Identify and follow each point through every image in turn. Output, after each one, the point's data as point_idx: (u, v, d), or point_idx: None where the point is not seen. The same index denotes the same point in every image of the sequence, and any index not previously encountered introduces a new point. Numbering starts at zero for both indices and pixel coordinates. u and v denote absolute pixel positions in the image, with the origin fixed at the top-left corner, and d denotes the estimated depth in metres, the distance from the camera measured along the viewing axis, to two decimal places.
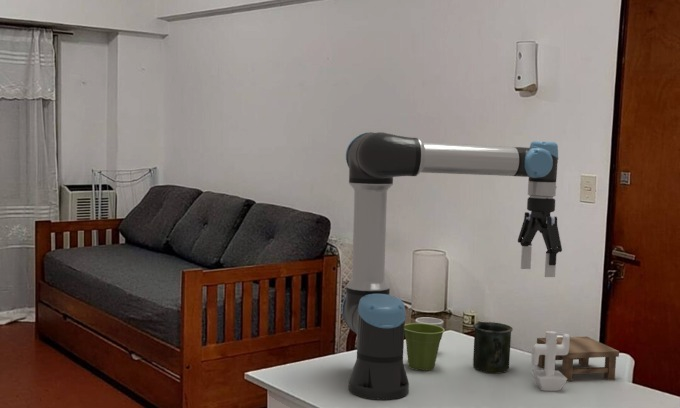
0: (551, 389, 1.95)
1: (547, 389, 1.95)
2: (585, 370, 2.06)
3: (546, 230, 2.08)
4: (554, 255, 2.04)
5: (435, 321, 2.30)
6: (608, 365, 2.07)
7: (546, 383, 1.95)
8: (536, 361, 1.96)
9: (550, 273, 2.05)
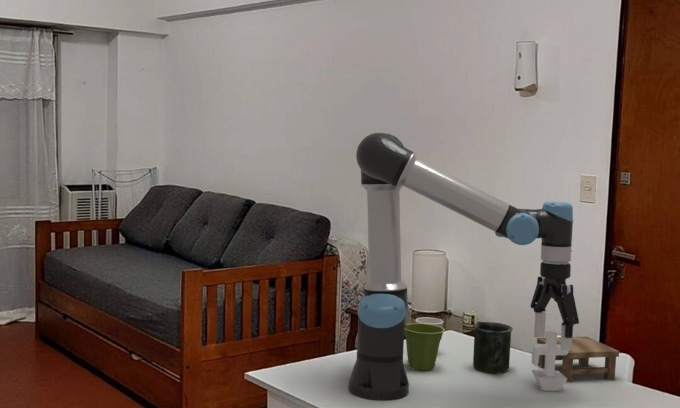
0: (551, 389, 1.95)
1: (547, 389, 1.95)
2: (585, 370, 2.06)
3: (561, 299, 1.92)
4: (570, 327, 1.88)
5: (435, 321, 2.30)
6: (608, 365, 2.07)
7: (546, 383, 1.95)
8: (536, 361, 1.96)
9: (566, 346, 1.90)
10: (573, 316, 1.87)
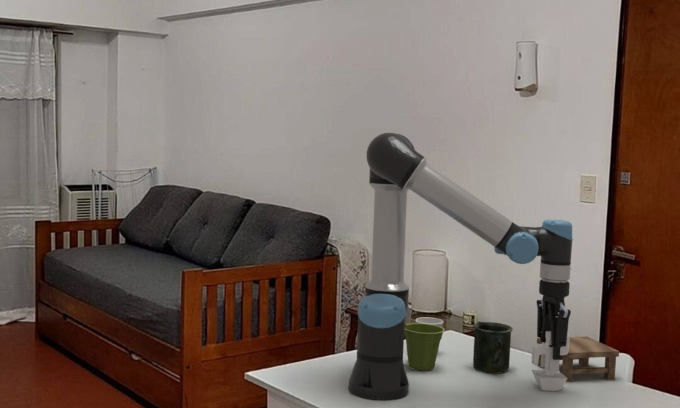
0: (551, 389, 1.95)
1: (547, 389, 1.95)
2: (585, 370, 2.06)
3: (556, 320, 1.94)
4: (558, 349, 1.94)
5: (435, 321, 2.30)
6: (608, 365, 2.07)
7: (546, 383, 1.95)
8: (536, 361, 1.96)
9: (553, 368, 1.95)
10: (562, 340, 1.92)
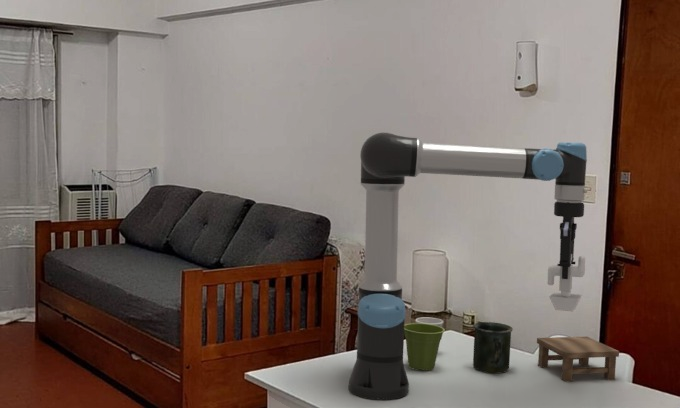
0: (564, 309, 1.99)
1: (560, 309, 1.99)
2: (585, 370, 2.06)
3: None
4: (565, 268, 1.97)
5: (435, 321, 2.30)
6: (608, 365, 2.07)
7: (557, 302, 1.99)
8: (550, 281, 2.01)
9: (564, 287, 1.99)
10: (564, 258, 1.96)
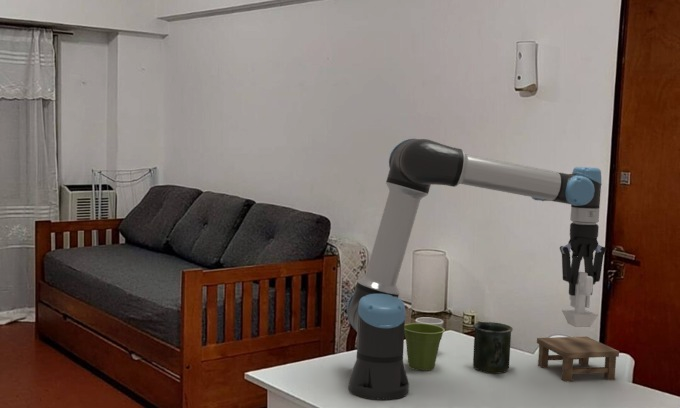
0: (571, 323, 2.11)
1: (569, 323, 2.12)
2: (585, 370, 2.06)
3: (574, 258, 2.10)
4: (570, 285, 2.10)
5: (435, 321, 2.30)
6: (608, 365, 2.07)
7: (566, 316, 2.13)
8: (570, 296, 2.15)
9: (572, 303, 2.11)
10: (564, 275, 2.10)
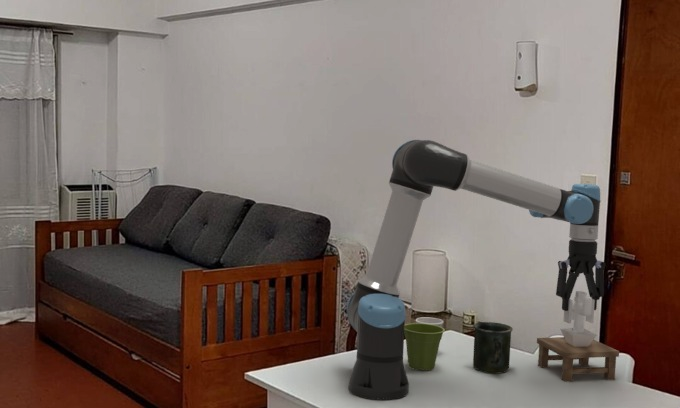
0: (569, 343, 2.12)
1: (568, 342, 2.13)
2: (585, 370, 2.06)
3: (571, 274, 2.10)
4: (564, 300, 2.10)
5: (435, 321, 2.30)
6: (608, 365, 2.07)
7: (565, 335, 2.13)
8: None
9: (566, 318, 2.11)
10: (558, 290, 2.10)
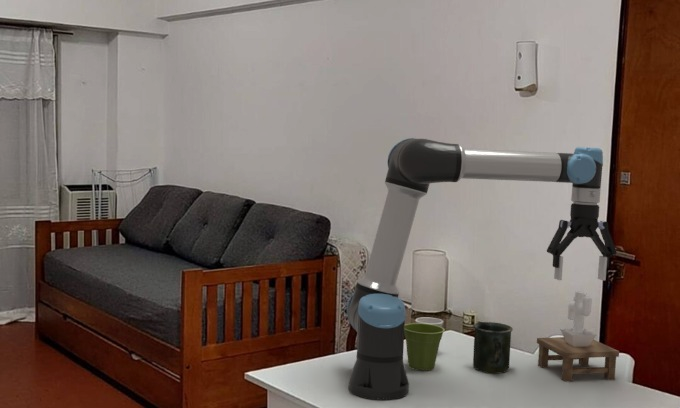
0: (569, 343, 2.12)
1: (568, 342, 2.13)
2: (585, 370, 2.06)
3: (569, 234, 2.09)
4: (554, 257, 2.08)
5: (435, 321, 2.30)
6: (608, 365, 2.07)
7: (565, 335, 2.13)
8: (568, 315, 2.15)
9: (556, 275, 2.09)
10: (550, 246, 2.08)
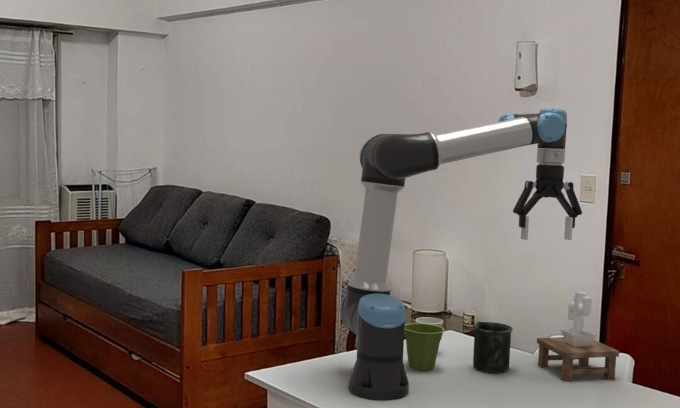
0: (569, 343, 2.12)
1: (568, 342, 2.13)
2: (585, 370, 2.06)
3: (534, 195, 2.12)
4: (520, 217, 2.12)
5: (435, 321, 2.30)
6: (608, 365, 2.07)
7: (565, 335, 2.13)
8: (568, 315, 2.15)
9: (522, 235, 2.12)
10: (516, 206, 2.11)
